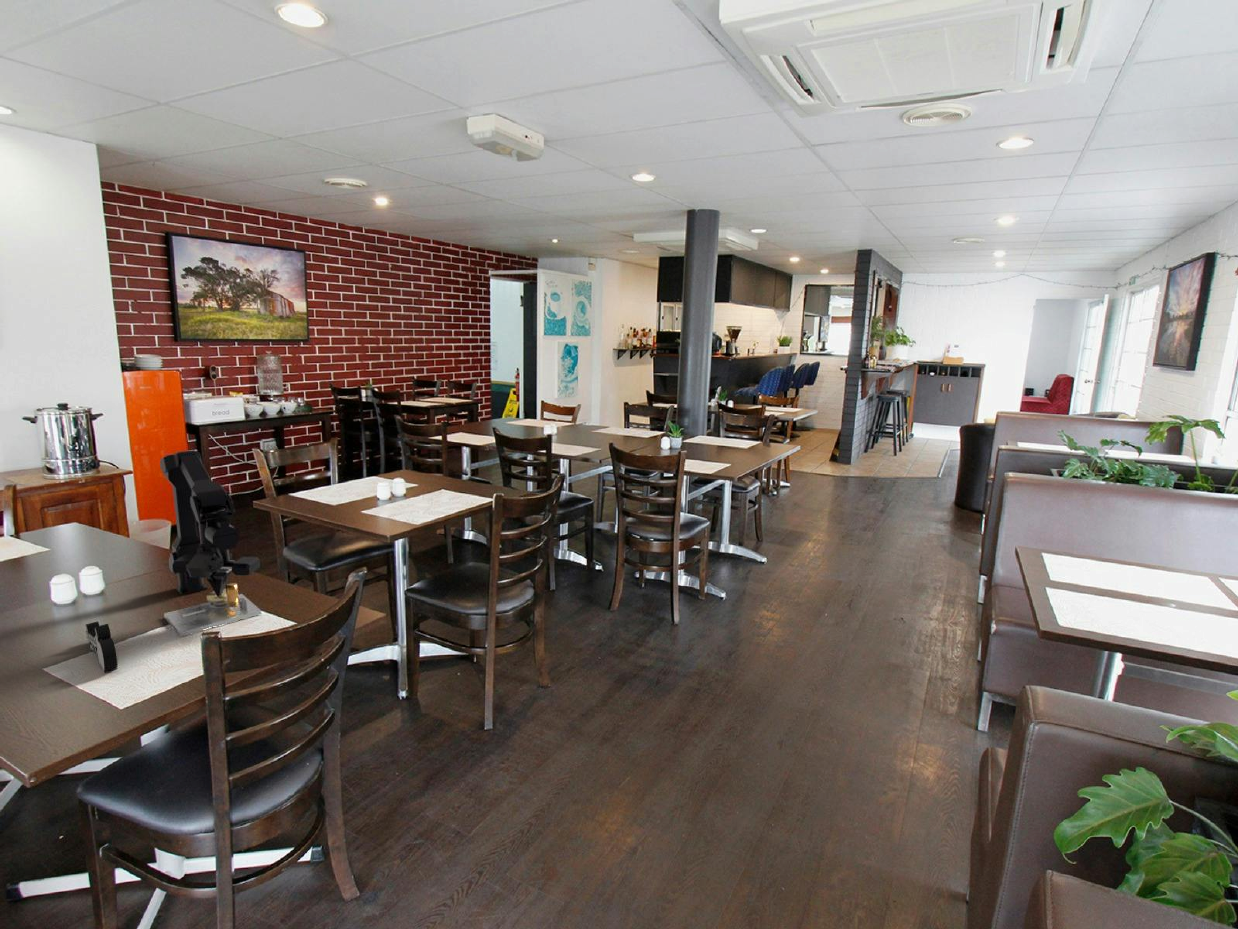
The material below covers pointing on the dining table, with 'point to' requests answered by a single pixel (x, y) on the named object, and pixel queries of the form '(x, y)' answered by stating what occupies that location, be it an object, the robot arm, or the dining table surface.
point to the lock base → (209, 615)
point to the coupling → (226, 596)
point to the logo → (102, 645)
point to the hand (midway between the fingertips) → (219, 596)
